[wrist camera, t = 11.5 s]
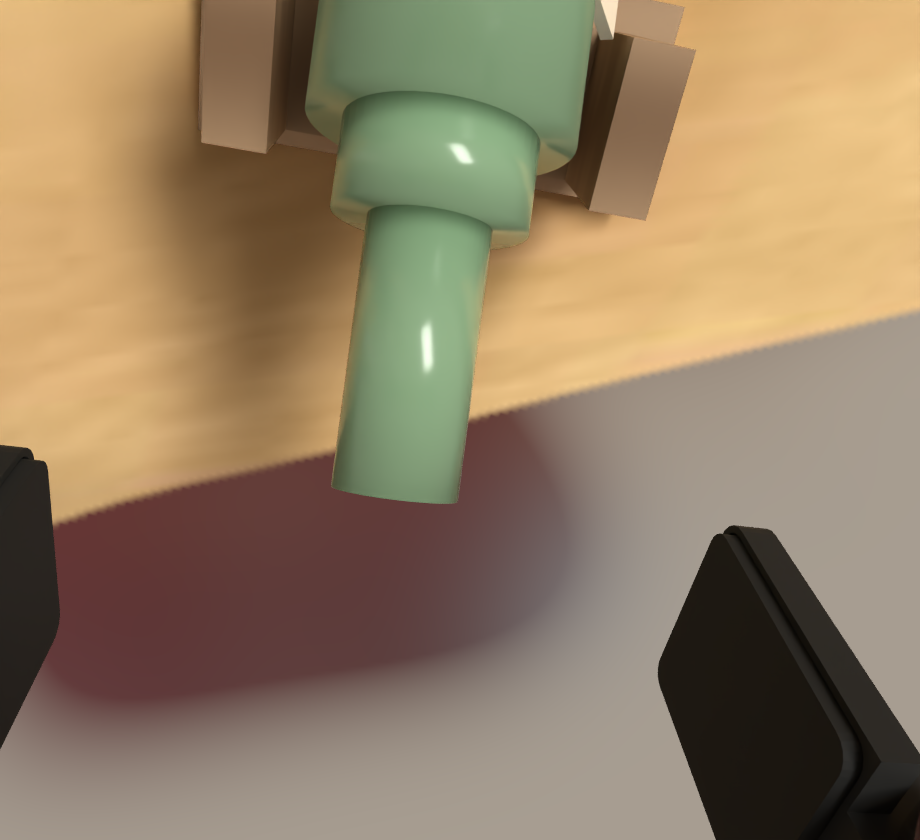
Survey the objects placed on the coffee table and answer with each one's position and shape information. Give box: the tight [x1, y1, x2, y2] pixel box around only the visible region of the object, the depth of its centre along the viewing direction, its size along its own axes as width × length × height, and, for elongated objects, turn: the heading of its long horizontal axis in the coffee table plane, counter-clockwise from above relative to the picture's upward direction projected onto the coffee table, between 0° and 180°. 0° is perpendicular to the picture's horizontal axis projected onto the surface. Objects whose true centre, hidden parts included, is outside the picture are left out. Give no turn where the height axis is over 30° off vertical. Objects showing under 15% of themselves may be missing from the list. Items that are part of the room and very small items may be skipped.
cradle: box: [198, 0, 696, 221], centre depth 22 cm, size 6×14×8 cm, turn 80°
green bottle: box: [305, 0, 618, 504], centre depth 18 cm, size 6×6×21 cm
